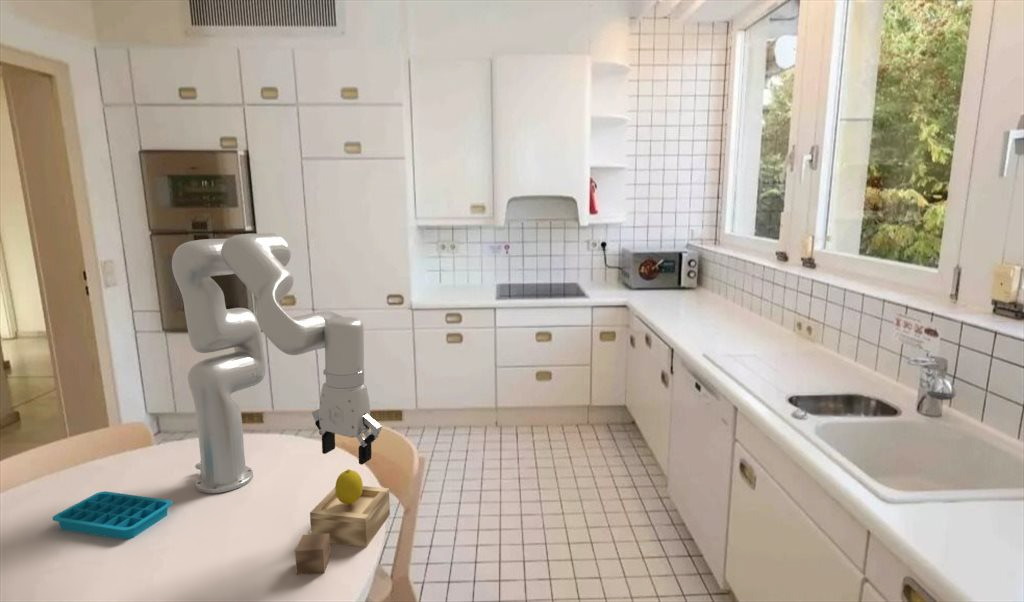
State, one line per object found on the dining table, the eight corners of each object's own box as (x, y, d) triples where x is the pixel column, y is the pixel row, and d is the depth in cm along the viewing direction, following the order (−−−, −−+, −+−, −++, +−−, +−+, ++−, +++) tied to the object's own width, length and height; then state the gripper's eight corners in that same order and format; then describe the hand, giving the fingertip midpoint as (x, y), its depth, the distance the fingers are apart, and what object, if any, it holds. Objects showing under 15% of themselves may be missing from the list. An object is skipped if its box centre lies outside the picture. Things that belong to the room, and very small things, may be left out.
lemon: (355, 513, 111) (354, 477, 110) (331, 510, 112) (329, 474, 111) (367, 499, 117) (366, 465, 115) (344, 496, 118) (342, 462, 116)
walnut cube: (296, 575, 100) (295, 550, 99) (304, 558, 105) (302, 534, 104) (324, 573, 100) (323, 549, 100) (330, 556, 105) (329, 533, 105)
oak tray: (311, 540, 110) (309, 512, 109) (339, 509, 122) (338, 483, 121) (366, 546, 108) (365, 518, 107) (389, 514, 120) (389, 488, 119)
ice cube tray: (102, 502, 125) (101, 490, 124) (176, 513, 120) (175, 501, 120) (50, 531, 113) (48, 518, 113) (130, 544, 109) (128, 530, 109)
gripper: (299, 376, 110) (301, 454, 113) (366, 391, 103) (367, 474, 106) (325, 366, 117) (327, 440, 120) (391, 380, 110) (391, 458, 113)
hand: (346, 456), depth 113 cm, fingers open, 9 cm apart
